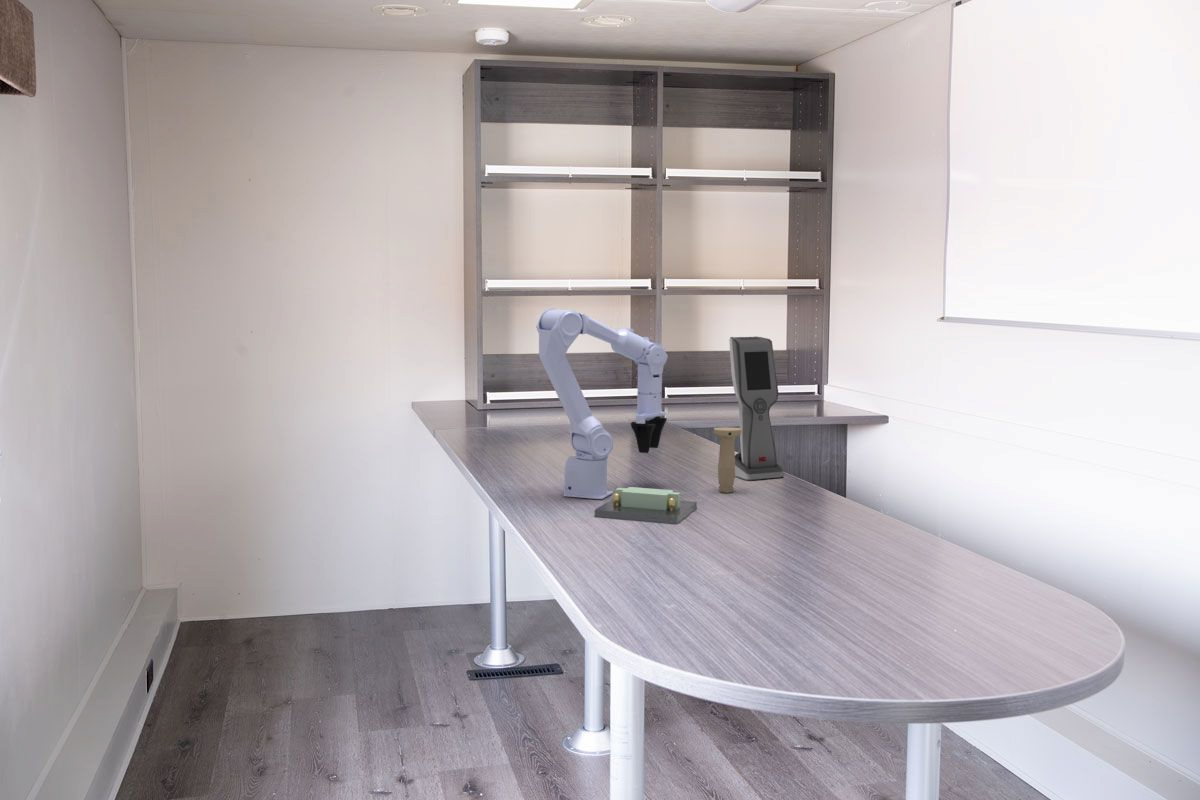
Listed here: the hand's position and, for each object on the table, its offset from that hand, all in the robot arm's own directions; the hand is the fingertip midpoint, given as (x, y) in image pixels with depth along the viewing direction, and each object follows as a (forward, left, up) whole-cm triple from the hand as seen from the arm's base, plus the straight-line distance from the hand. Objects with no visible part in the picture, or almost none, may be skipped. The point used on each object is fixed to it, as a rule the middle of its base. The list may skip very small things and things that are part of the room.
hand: (648, 450), depth 260 cm
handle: (+18, +4, -10) cm, 21 cm away
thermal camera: (+20, +27, -10) cm, 35 cm away
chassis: (+7, -24, -9) cm, 27 cm away
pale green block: (+7, -24, -8) cm, 26 cm away
